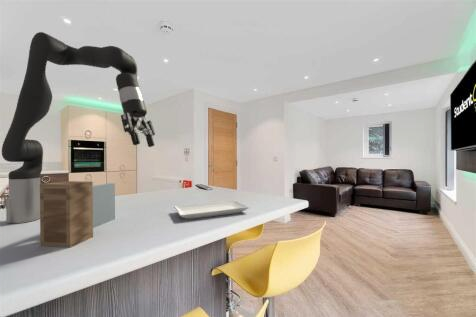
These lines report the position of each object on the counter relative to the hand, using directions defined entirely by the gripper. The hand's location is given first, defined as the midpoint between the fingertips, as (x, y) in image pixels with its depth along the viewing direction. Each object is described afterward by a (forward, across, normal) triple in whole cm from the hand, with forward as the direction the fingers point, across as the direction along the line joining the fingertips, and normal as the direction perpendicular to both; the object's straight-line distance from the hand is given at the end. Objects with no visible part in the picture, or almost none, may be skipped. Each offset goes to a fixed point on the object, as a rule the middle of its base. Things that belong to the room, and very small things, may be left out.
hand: (144, 145), depth 76 cm
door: (+22, -5, -30) cm, 37 cm away
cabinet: (+23, +10, -27) cm, 37 cm away
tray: (+33, -27, +6) cm, 43 cm away
